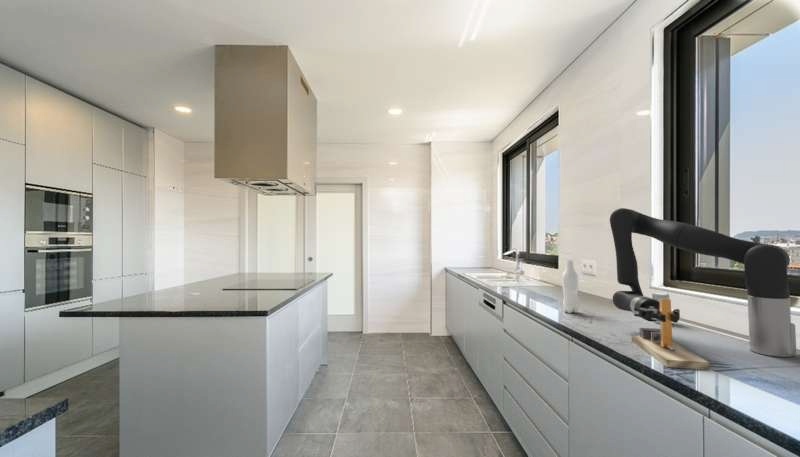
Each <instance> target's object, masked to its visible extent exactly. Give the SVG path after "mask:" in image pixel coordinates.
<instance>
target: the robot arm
mask: <svg viewBox="0 0 800 457" xmlns="http://www.w3.org/2000/svg"><path fill="white" fill-rule="evenodd" d="M609 224H610V230H611V233H612V236H613V237H612V239H613V243H614V248H615V258H616V260H615V261H616V279H617V280H616V281H617V283H618V284H619V285H623V286H629V288H630V289H631V290H617V291H616V292H614V293H613V295H612V303H613V305H614V306H615V307H616V308H617V309H619V310H622V311H626V312H632V313H633V316H634V317H637V318H638V317H639V318H641V319H643V320H644V321H647V322H652V323H654V321H658V320H660V321H662V322H666V316H665V315H664V314H662V313H660V302H659V301H657V300H654V299H652V298H651V297H648V296H645V295H644V294H643V291H642V288H641V285H640V281H639V267H638V260H637V257H636V253H635V251H634V247H633V246H634V245H633V239H632V235H633V234H637V235H643V236H647V237H650V238H652V239H655V240H656V241H659V242H662V243H663V244H666V245H669V246H670V247H674V248H676V249H680V250H684V251H686V252H690V253H695V254H698V255H704V256H707V257H708V256H710V257H715V258H716V257H717V258H721V259H722V258H723V259H726V260H731V261H733V262H736V263H740V264H742V265H744V266H743V267H744V268H743V269H744V282H745V288H746V291H747V313H748V314H747V316H748V338H749V340H748V341H749V343H748V344H749V350H750V351H752V352H754V353H758V354H761V355H764V356H771V357H779V358H790V357H797V338H796V336H797V334H796V333H797V332H796V324H795V323H793V322H792V318H791V317H792V315H791V313H792V312H791V294H790V293H791V292H790V288H789V282H788V267H789V265H790V263H791V260H790V256H789V253H788V252H787V251H786V250H784V249H783V248H782V247H780V246H778V245H775V244H769V243H768V244H766V243H760V242H755V241H750V240H746V239H745V240H743V239H740V238H735V237H732V236H729V235H727V234H723V233H720V232H717V231H714V230H712V229H708V228H705V227H701V226H697V225H693V224H690V223H685V222H680V221H675V220H667V219H660V218H656V217H653V216H649V215H646V214H643V213H641V212H638V211H637V210H634V209H630V208H623V207H620V208H617V209H614V210H613V211H612V212H611V214H610V217H609ZM680 312H681V311H680V309H678V308H675V309H672V310H671V321H672V322H673V323H676V324H677V323H678V322H679V321H680V319H681V316H680Z"/></svg>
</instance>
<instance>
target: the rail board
mask: <svg viewBox="0 0 800 457" xmlns="http://www.w3.org/2000/svg"><path fill="white" fill-rule="evenodd" d="M631 342H632V343H634V344H635V345H637V346H638V347H639V348H641V349H642V350H644V351H645V352H646V353H648V354H649V355H650V356H652V357H653V358H654V359H655V360H657V361H658V362H660V363H661V364H663V365H664V366H665V367H667V368H678V369H693V370H694V369H696V370H710V362H709V361H707V360H706V359H704V358H703V357H701V356H699V355H697V354H695V353H694V352H692V351H690V350H688V349H687V348H685V347H683V346H682V345H679V343H677V342H674V341H673V340H672V347H674V348H675V351H672V350H670V349H669V348H666V347H662V346H661V342H651V339H643V338H641V337H640V335H631Z"/></svg>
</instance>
